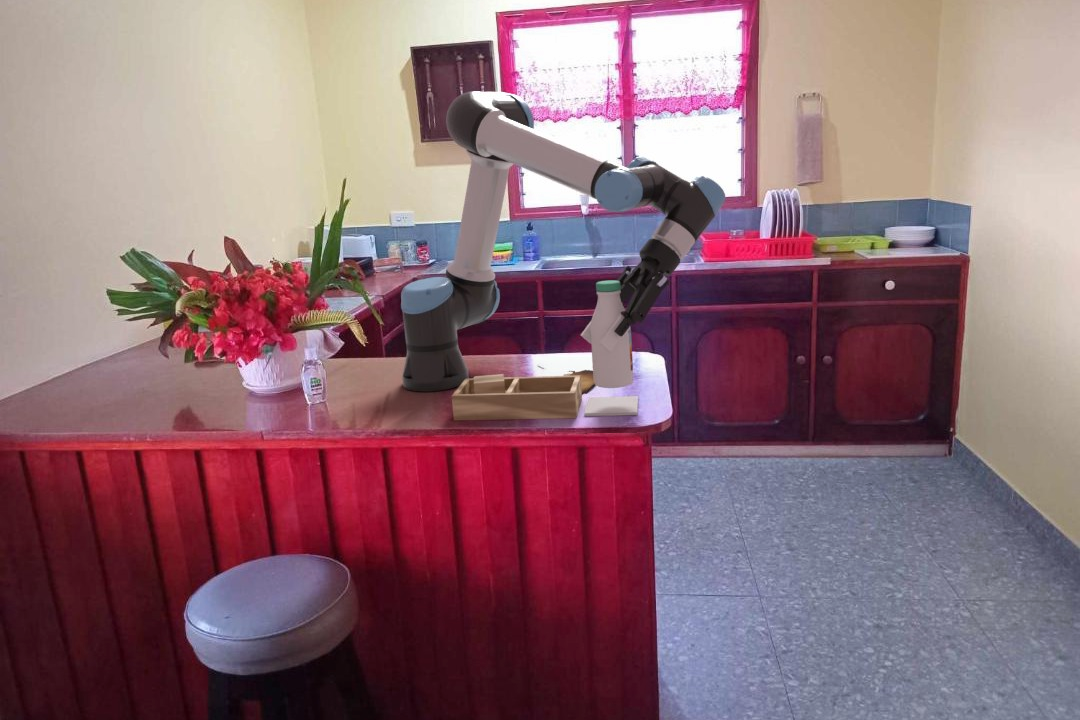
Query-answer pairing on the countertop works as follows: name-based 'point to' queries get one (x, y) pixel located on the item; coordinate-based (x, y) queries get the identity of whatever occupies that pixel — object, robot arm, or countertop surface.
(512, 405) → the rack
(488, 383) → the offcut top
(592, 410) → the coaster
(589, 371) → the parchment
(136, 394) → the countertop surface
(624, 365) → the milk bottle
